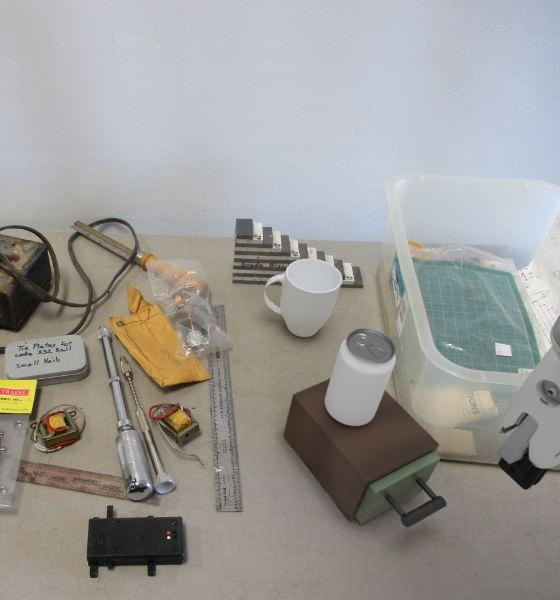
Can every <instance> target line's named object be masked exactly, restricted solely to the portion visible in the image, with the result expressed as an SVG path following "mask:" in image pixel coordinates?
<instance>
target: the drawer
mask: <svg viewBox="0 0 560 600" xmlns="http://www.w3.org/2000/svg"><path fill="white" fill-rule="evenodd" d="M440 460H441V456H440V455H438V453H437V452H436V451H432V452H430V453H428V454H427V455H425V456H423V457H421V458H419V459H417V460H415V461H412V462H410V463H408V464H406V465H404V466H402V467H400V468H398V469H396V470H394V471H392V472H390V473H389V474H387V475H385V476H383V477H381V478H379V479H377V480H375V481H373V482H371V483H370V484H369V486H368V488H367V491H366V493H365V495H364V497H363V499H362V502H361V504H360V506H359V508H358V511H357V513H356V515H355V517H356V518H355V519H356V520H357V521H358V522H359V524H360V525H362V524H365V523H366V522H368V521H370V520H372V519H373V518H375V517H377V516H378V515H381V514H383V513H384V512H386V511H388V510H390V509H391V508H392V509H393V510H394V511H395V513H397V514H398V516H399V517H400V522H401V524H402V525H403V526H404V527H405V528H407V529H408V528H410V527H412V526H414V525H416V524H417V523H419V522H421V521H423V520H425V519H427V518H428V517H430V516H431V515H433V514H435V513H437V512H439V511H440V510H442V509H444V508H445V507H447V505H448V504H447V501H446V498H445V497H443V496H442V495H437V494H436V493H435V492H434V491H433V490H432V488H431V487H430V486H429V485H428V484H427V483H428V481H429V480H430V478H431V477H432V474H433V473H434V471H435V470H436V468H437V466H438V464H439V462H440ZM423 491H424V492H425V494H426V495H427V496H428V497H429V498H430V499H429V500H428V501H426V502H424V503H422V504H421V505H419V506H417V507H415V508H413V509H412V510H410V511H408V512H406V511H405V509H403V508H402V506H401V505H400V504H401V503H402V502H404V501H406V500H407V499H410V498H412V497H414V496H415V495H418V494H420V492H423Z"/></svg>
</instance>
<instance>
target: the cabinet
mask: <svg viewBox="0 0 560 600" xmlns="http://www.w3.org/2000/svg"><path fill="white" fill-rule="evenodd" d="M330 379H331V377H330V378H328V379H325V380H323V381H321V382H318V383H316V384H314V385H311V386H309V387H307V388H305V389H303V390H300V391H298V392H295V393H293V394H292V396H291V401H290V404H289V408H288V409H289V410H288V412H287V413H288V414H287V418H286V422H285V425H284V426H285V427H284V429H283V435H282V436H283V438H284V439H285V441H286V442H287V443H288V445H290V447H291V449H292V450H293V451H294V452H295V454H296V455H297V456H298V457H299V458H300V460H301V462H303V464H304V465H305V467H306V468H307V469H308V470H309V472H310V473H311V474H312V475H313V477H314V478H315V479H316V480H317V482H318V483H319V484H320V485H321V487H322V488H323V489H324V492H326V493H327V495H328V496H329V497H330V499H331V500H332V501H333V502H334V504H335V505H336V507H337V508H338V509H339V510H340V511H341V513H342V514H343V515H344V517H345V518H346V519H347V520H348V522H352V521H354V520H355V519H356V517H355V515H356V513H357V511H358V508H359V506H360V504H361V502H362V499H363V497H364V495H365V493H366V491H367V488H368V486H369V484H370V483H371V482H373V481H375V480H377V479H379V478H381V477H383V476H385V475H387V474H389V473H390V472H392V471H394V470H396V469H398V468H400V467H402V466H404V465H406V464H408V463H410V462H412V461H415V460H417V459H419V458H421V457H423V456H425V455H427V454H428V453H430V452H432V451H435V452H436V451H437V450H438V448H439V446H440V444H439V442H438V441H437V440H436V439H435V438H434V437H433V436H432V435H430V433H429V432H428V431H427V430H426V429H425V428H424V427H423V426H422V425H421V424H420V423H418V421H417V420H416V419H415V418H414V417H413V416H412V415H411V414H410V413H409V412H408V411H407V410H406V409H405V408H404V407H403V406H401V404H400V403H399V402H398V401H397V400H396V399H395V398H394V397H393V396H392V395H391V393H389V392H388V391H387V390H386V389H385V391H384V393H383V396H382V398H381V401H380V403H379V406H378V408H377V410H376V413H375V415H374V417H373V419H372V420H371V421H370V422H368V423H367V424H364V425H361V426H349V425H345V424H342V423H340V422H338V421H337V420H335V419H334V418H333V417H332V416H331V415H330V414H329V413H328V411H327V409H326V407H325V396H326V393H327V389H328V386H329V382H330Z"/></svg>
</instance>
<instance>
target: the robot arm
mask: <svg viewBox="0 0 560 600" xmlns="http://www.w3.org/2000/svg"><path fill="white" fill-rule="evenodd" d="M549 339H550V343H551V347H549V349H548V350H547V352H546V353H545V354H544V355H543V357H542V358H541V359H540V360H539V361H538V362H537V364H536V365H535V366H534V368H533V369H532V371H531V372H530V373H529V374H528V376H527V378H526V379H525V380H524V382H523V383H522V384H521V385H520V387H519V389H518V390H517V392H516V393H515V394H514V396H513V397H512V399H511V400H510V402H509V404H508V405H507V407H506V408H505V410H504V411H503V414H502V415H501V417H500V419H499V422H498V425H497V428H498V429H497V430H498V433H499V434H507V433H509V432H510V431H512V430H513V432H512V433H511V434H510V436H509V437H508V438H506V441H505V442H504V443H503V444H502V445H501V446H500V447H499V449H498V450H497V452H496V454H498V456H499V457H501V458H500V459H499V461H498V463H497V465H498V467H499V468H500V469H501V470H502V471H503V472H504V473H505V474H506V475H507V476H508V477H509V478H510V479H512V481H513V482H514V483H516V484H517V485H518V486H519V487H520V488H521V489H522V490H524V491H527V490H529V489H530V488H532V486H536V485H537V484H539V483H540V482H541V481H542V479H543V478H544V477H545V475H546V474H547V473H548V472H549V470H550V469H552V468H554V467H556V466H558V465H560V314H558V317H557V318H556V320H555V322H554V323H553V325H552V326H551V328H550V331H549Z"/></svg>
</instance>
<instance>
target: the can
mask: <svg viewBox="0 0 560 600" xmlns="http://www.w3.org/2000/svg"><path fill="white" fill-rule="evenodd" d="M396 351H397V349H396V345H395V343H394V341H393V340H392V338H391V337H389V336H388V335H387V334H385V333H384V332H382V331H380V330H378V329H374V328H370V327H361V328H356V329H354V330H352V331H350V333H348V335H347V336H346V338H345V339H344V340H343V341H342V342H341V344H340V347H339V350H338V353H337V356H336V359H335V362H334V365H333V369H332V373H331V376H330V378H331V379H330V378H329V379H330V382H329V386H328V389H327V393H326V396H325V407H326V409H327V411H328V413H329V414H330V415H331V416H332V417H333V418H334V419H335V420H337V421H338V422H340V423H342V424H345V425H349V426H361V425H364V424H367V423H368V422H370V421H371V420H372V419H373V417H374V415H375V413H376V410H377V408H378V406H379V403H380V401H381V398H382V396H383V393H384V391H385V390H386V389H387V386H388V383H389V381H390V378H391V375H392V373H393V370H394V368H395V365H396Z"/></svg>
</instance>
